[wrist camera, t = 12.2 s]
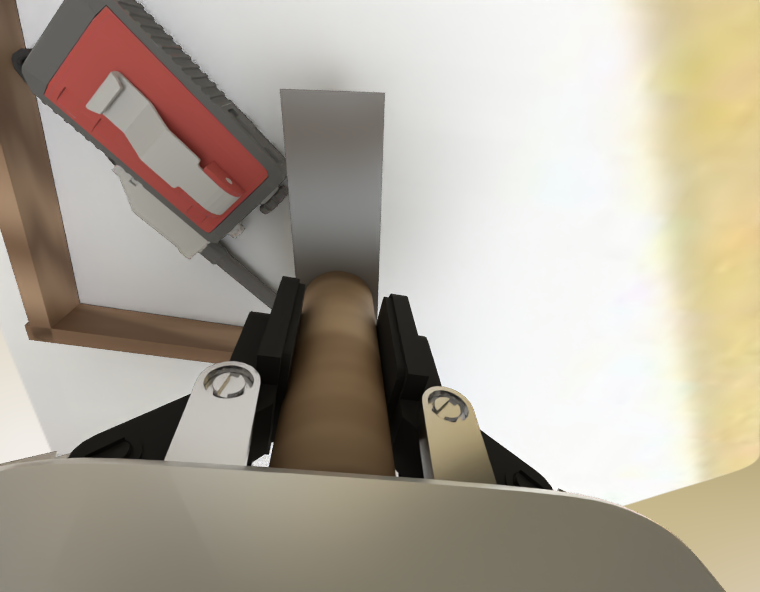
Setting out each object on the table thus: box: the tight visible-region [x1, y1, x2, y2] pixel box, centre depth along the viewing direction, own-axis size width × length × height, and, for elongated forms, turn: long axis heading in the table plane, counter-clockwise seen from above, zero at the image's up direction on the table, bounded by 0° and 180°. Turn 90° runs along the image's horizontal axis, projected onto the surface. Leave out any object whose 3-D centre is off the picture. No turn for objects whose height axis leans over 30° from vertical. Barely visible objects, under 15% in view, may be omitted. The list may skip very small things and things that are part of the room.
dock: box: [0, 0, 243, 363], centre depth 20 cm, size 26×14×3 cm, turn 167°
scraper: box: [269, 89, 396, 477], centre depth 13 cm, size 14×3×13 cm, turn 178°
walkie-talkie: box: [12, 0, 288, 309], centre depth 21 cm, size 9×4×20 cm
